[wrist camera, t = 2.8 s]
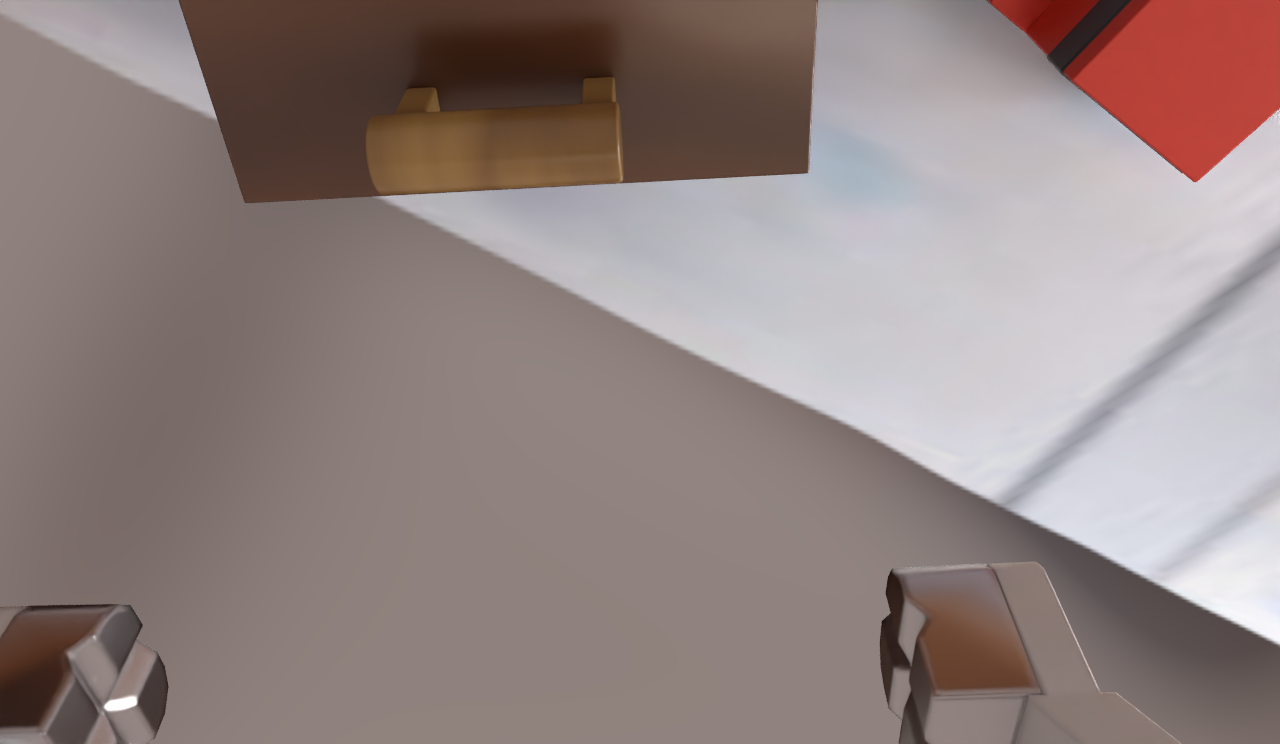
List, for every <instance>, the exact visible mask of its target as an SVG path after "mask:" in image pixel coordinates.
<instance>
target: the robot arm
mask: <svg viewBox="0 0 1280 744" xmlns="http://www.w3.org/2000/svg"><path fill="white" fill-rule="evenodd" d="M886 596H887V600H888V604H889V608H890V611H891V613H890V614H889V615H888V616H887V617H886V618H885V619H884V620H883V621H882V626H881V636H880V659H881V671H882V677H883V684H884V689H885V694H886V698H887V702H888V706H889V709H890V710H891V711H892V712H893V713H894V714H895V715H896V716H897V717H898V718H899V719H900V720H902V725H901V731H900V738H899V744H1181V743H1180V742H1179V741H1178V740H1176V739H1175V738H1174V737H1172V736H1171V735H1170V734H1169V733H1167V732H1166V731H1165V730H1163V729H1162V728H1161V727H1160V726H1158V725H1157V724H1156V723H1154V722H1153V721H1152V720H1151V719H1149V718H1148V717H1147V716H1145V715H1144V714H1143V713H1142V712H1140V711H1139V710H1138V709H1136V708H1135V707H1134V706H1133V705H1131V704H1130V703H1129V702H1127V701H1126V700H1125V699H1124V698H1122V697H1121V696H1120V695H1118V694H1117V693H1116V692H1114V693H1113V692H1100V690H1099V688H1098V686H1097V683H1096V681H1095V679H1094V677H1093V675H1092V672H1091V670H1090V668H1089V666H1088V664H1087V661H1086V659H1085V657H1084V655H1083V653H1082V651H1081V648H1080V646H1079V644H1078V642H1077V640H1076V637H1075V635H1074V633H1073V631H1072V629H1071V626H1070V624H1069V622H1068V620H1067V618H1066V615H1065V613H1064V611H1063V609H1062V607H1061V605H1060V602H1059V600H1058V598H1057V596H1056V594H1055V591H1054V589H1053V587H1052V585H1051V583H1050V580H1049V578H1048V576H1047V574H1046V572H1045V569H1044V568H1043V567H1042V566H1040V565H1039V564H1038V563H1037V562H1019V563H999V564H988V565H985V564H969V565H950V566H932V567H914V568H896V569H892V570H891V572H890V574H889V576H888V581H887V588H886ZM141 628H142V623H141V621H140V620H139V618H138V617H137V615H136V613H135V612H134V610H133V609H132V607H131V606H130V605H120V604H103V605H53V606H52V605H50V606H49V605H48V606H25V607H24V606H20V607H0V744H149V743H150V742H151V741H152V740H153V739H155V737H156V734H157V732H158V729H159V727H160V724H161V722H162V719H163V717H164V715H165V709H166V701H167V693H168V681H167V676H166V671H165V666H164V665H163V662H162V660H161V658H160V656H159V654H158V653H157V652H156V651H155V650H153V649H151V648H150V647H148V646H147V645H145V644H143V643H142V642H140V641H138V640H137V639H136V638H137V636H138V634H139V632H140V630H141Z"/></svg>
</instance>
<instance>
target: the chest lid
mask: <svg viewBox="0 0 1280 744" xmlns="http://www.w3.org/2000/svg"><path fill="white" fill-rule="evenodd" d="M179 3H180V6H181V9H182V12H183V15H184V18H185V21H186V24H187V28H188V31H189V34H190V37H191V40H192V43H193V46H194V49H195V52H196V55H197V58H198V61H199V64H200V67H201V70H202V73H203V76H204V80H205V83H206V86H207V89H208V92H209V95H210V98H211V101H212V104H213V107H214V110H215V113H216V116H217V119H218V122H219V125H220V128H221V132H222V134H223V138H224V141H225V144H226V147H227V150H228V153H229V156H230V159H231V162H232V165H233V168H234V171H235V174H236V177H237V181H238V184H239V187H240V189H241V193H242V196H243V199H244V202H245V203H257V202H277V201H296V200H313V199H314V200H315V199H333V198H350V197H351V198H352V197H371V196H390V195H409V194H428V193H446V192H465V191H484V190H503V189H522V188H540V187H559V186H578V185H597V184H616V183H634V182H653V181H672V180H691V179H710V178H728V177H747V176H766V175H785V174H803V173H808V172H809V163H810V143H811V124H812V104H813V85H814V65H815V45H816V26H817V6H818V0H179Z"/></svg>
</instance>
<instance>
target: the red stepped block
mask: <svg viewBox="0 0 1280 744" xmlns="http://www.w3.org/2000/svg"><path fill="white" fill-rule="evenodd" d="M987 1H988V2H989V3H990V4H991V5H992V6H994V7H995V8H996V9H997V10H998V11H1000V12H1001V13H1002V14H1003V15H1004V16H1006V17H1007V18H1008V19H1009V20H1010V21H1012V22H1013V23H1014V24H1015V25H1016V26H1018V27H1019V28H1020V29H1021V30H1022V31H1024V32H1025V33H1026V34H1027V35H1028V36H1029V37H1030V38H1031V39H1032V40H1033V41H1034V43H1035V44H1036V45H1037V46H1038V47H1039V48H1040V49H1041V50H1042V51H1043V52H1044V53H1045V54H1046V55H1047V59H1048V60H1049V62H1050V63H1051V64H1052V65H1053V66H1054V67H1055V68H1056V69H1057V70H1058V71H1059V72H1060V73H1061V74H1062V75H1063V76H1065V77H1066V78H1067V79H1068V80H1069V81H1071V82H1072V83H1073V84H1074V85H1075V86H1077V87H1078V88H1079V89H1080V90H1082V91H1083V92H1084V93H1085V94H1086V95H1088V96H1089V97H1090V98H1091V99H1092V100H1094V101H1095V102H1096V103H1097V104H1099V105H1100V106H1101V107H1102V108H1103V109H1105V110H1106V111H1107V112H1108V113H1109V114H1111V115H1112V116H1113V117H1114V118H1116V119H1117V120H1118V121H1119V122H1120V123H1122V124H1123V125H1124V126H1125V127H1126V128H1128V129H1129V130H1130V131H1131V132H1132V133H1134V134H1135V135H1136V136H1137V137H1139V138H1140V139H1141V140H1142V141H1143V142H1145V143H1146V144H1147V145H1148V146H1149V147H1151V148H1152V149H1153V150H1154V151H1156V152H1157V153H1158V154H1159V155H1160V156H1162V157H1163V158H1164V159H1165V160H1166V161H1168V162H1169V163H1170V164H1171V165H1173V166H1174V167H1175V168H1176V169H1177V170H1179V171H1180V172H1181V173H1184V174H1185V175H1186V176H1187V177H1188V178H1190V179H1191V180H1192V181H1193V182H1197V181H1198V180H1200V179H1201V178H1202V177H1203V176H1204V175H1205V174H1206V173H1207V172H1209V171H1210V170H1211V169H1212V168H1213V167H1214V166H1215V165H1216V164H1218V163H1219V162H1220V161H1221V160H1222V159H1223V158H1224V157H1225V156H1227V155H1228V154H1229V153H1230V152H1231V151H1232V150H1233V149H1234V148H1236V147H1237V146H1238V145H1239V144H1240V143H1241V142H1242V141H1243V140H1244V139H1246V138H1247V137H1248V136H1249V135H1250V134H1251V133H1252V132H1253V131H1255V130H1256V129H1257V128H1258V127H1259V126H1260V125H1261V124H1262V123H1264V122H1265V121H1266V120H1267V119H1268V118H1269V117H1270V116H1271V115H1273V114H1274V113H1275V112H1276V111H1277V110H1278V109H1279V108H1280V0H987Z"/></svg>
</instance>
